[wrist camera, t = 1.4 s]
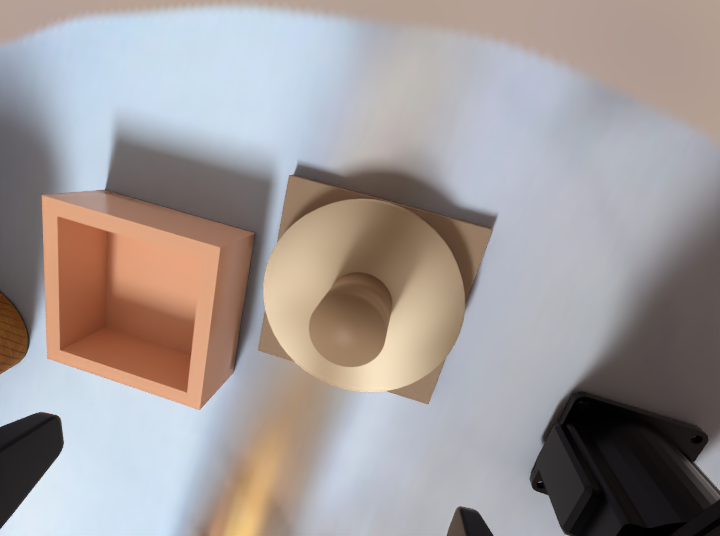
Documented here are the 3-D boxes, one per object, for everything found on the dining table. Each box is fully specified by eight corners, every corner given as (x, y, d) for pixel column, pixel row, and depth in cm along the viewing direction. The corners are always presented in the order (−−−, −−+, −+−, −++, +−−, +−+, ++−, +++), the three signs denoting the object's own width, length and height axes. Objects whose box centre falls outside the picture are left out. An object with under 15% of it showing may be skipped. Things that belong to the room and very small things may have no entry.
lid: (492, 230, 17) (514, 250, 13) (428, 404, 20) (429, 464, 16) (289, 175, 18) (250, 178, 14) (257, 350, 21) (218, 394, 17)
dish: (255, 233, 19) (220, 247, 16) (233, 372, 22) (199, 410, 19) (104, 189, 20) (41, 194, 17) (101, 330, 23) (47, 358, 20)
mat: (490, 228, 17) (492, 230, 17) (428, 397, 20) (428, 404, 20) (293, 174, 18) (289, 175, 18) (262, 345, 21) (257, 350, 21)
